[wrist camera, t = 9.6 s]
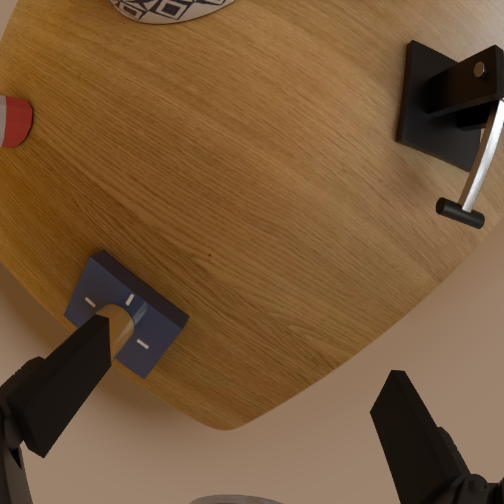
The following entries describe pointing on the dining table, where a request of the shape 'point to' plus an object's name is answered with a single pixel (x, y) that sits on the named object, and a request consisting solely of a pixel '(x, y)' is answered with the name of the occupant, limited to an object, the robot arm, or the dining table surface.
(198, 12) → the planter
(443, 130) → the black angular piece
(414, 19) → the dining table surface
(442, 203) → the faucet lever
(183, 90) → the dining table surface
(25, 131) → the beverage can
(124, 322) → the valve knob
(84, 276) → the valve plate
